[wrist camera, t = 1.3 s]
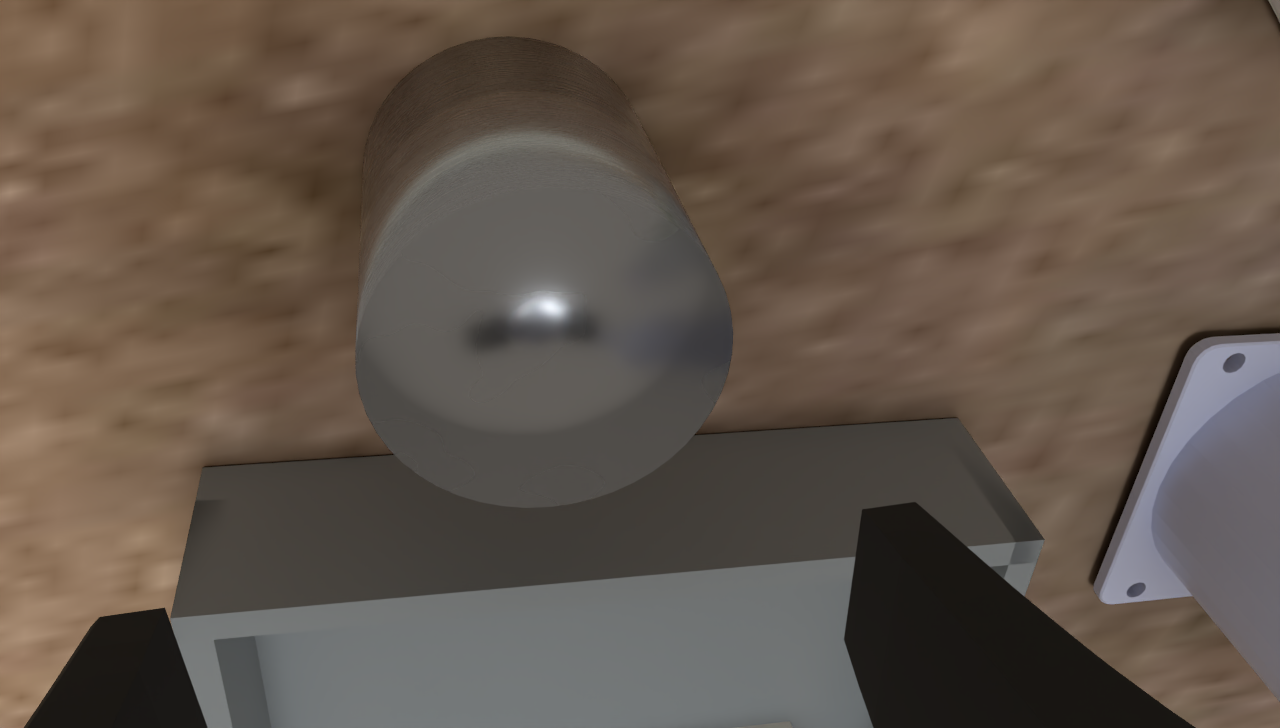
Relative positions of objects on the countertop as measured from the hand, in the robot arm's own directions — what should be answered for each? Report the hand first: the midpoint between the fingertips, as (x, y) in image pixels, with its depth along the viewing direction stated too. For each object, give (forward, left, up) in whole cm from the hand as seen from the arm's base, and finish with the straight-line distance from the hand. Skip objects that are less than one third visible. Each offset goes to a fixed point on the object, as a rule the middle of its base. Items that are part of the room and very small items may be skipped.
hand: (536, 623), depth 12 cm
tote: (-3, +13, -10) cm, 17 cm away
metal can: (-1, -1, -10) cm, 10 cm away
